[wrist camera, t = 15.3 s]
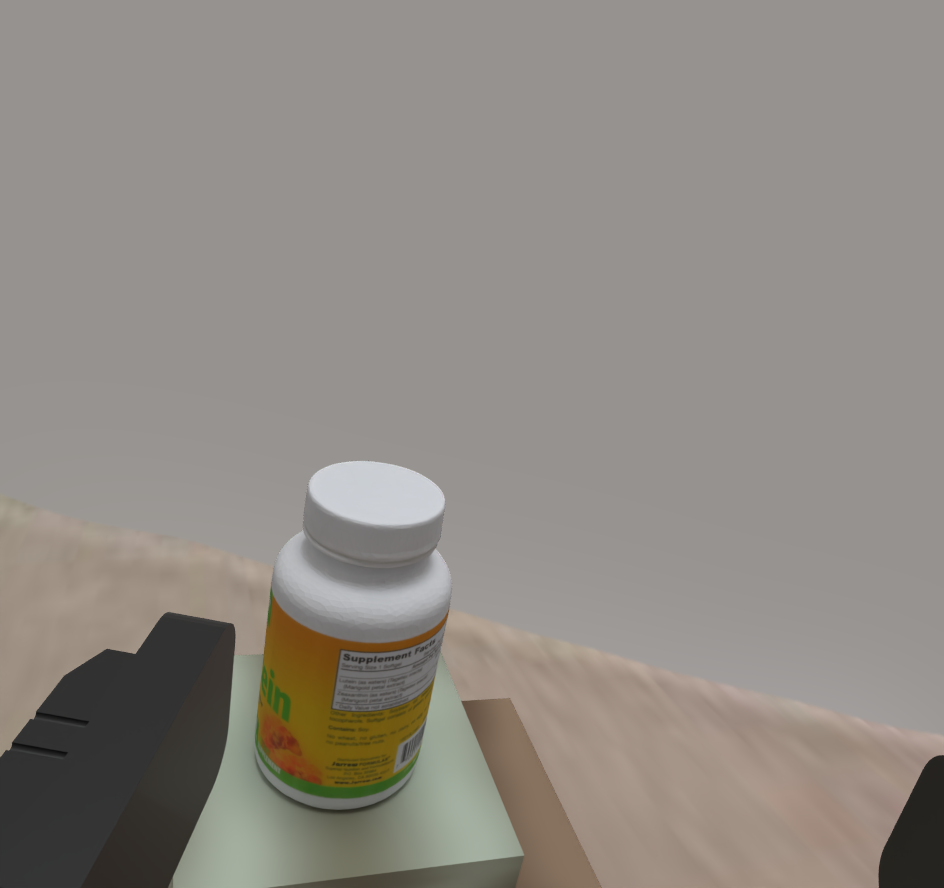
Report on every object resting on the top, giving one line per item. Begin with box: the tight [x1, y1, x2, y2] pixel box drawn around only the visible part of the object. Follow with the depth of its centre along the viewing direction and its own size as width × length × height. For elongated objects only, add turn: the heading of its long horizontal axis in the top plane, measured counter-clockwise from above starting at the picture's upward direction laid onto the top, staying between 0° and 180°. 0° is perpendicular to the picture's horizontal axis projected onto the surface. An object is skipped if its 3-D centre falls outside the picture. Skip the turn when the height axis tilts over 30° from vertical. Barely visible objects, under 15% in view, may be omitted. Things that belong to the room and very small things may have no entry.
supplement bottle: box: [254, 461, 452, 810], centre depth 27 cm, size 5×5×10 cm
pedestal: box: [168, 651, 601, 888], centre depth 30 cm, size 20×15×6 cm
